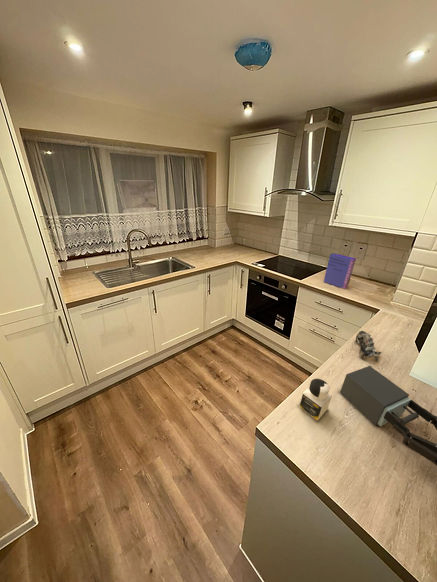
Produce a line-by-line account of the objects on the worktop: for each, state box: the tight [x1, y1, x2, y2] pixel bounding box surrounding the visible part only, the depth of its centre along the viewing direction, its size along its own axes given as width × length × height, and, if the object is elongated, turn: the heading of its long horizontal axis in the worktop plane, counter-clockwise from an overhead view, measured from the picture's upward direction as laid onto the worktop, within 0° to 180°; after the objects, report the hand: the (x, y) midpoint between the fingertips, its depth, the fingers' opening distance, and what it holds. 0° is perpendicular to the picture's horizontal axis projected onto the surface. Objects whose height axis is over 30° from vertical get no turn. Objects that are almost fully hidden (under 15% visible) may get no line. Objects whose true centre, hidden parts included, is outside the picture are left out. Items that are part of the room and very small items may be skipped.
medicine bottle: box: [299, 378, 332, 421], centre depth 82 cm, size 7×7×12 cm
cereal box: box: [323, 252, 357, 290], centre depth 183 cm, size 17×5×24 cm, turn 42°
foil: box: [355, 330, 382, 362], centre depth 113 cm, size 12×11×15 cm
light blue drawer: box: [377, 396, 420, 427], centre depth 82 cm, size 18×11×8 cm, turn 23°
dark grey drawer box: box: [339, 365, 410, 426], centre depth 85 cm, size 15×13×10 cm
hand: (397, 408), depth 77 cm, fingers closed on light blue drawer, 11 cm apart
